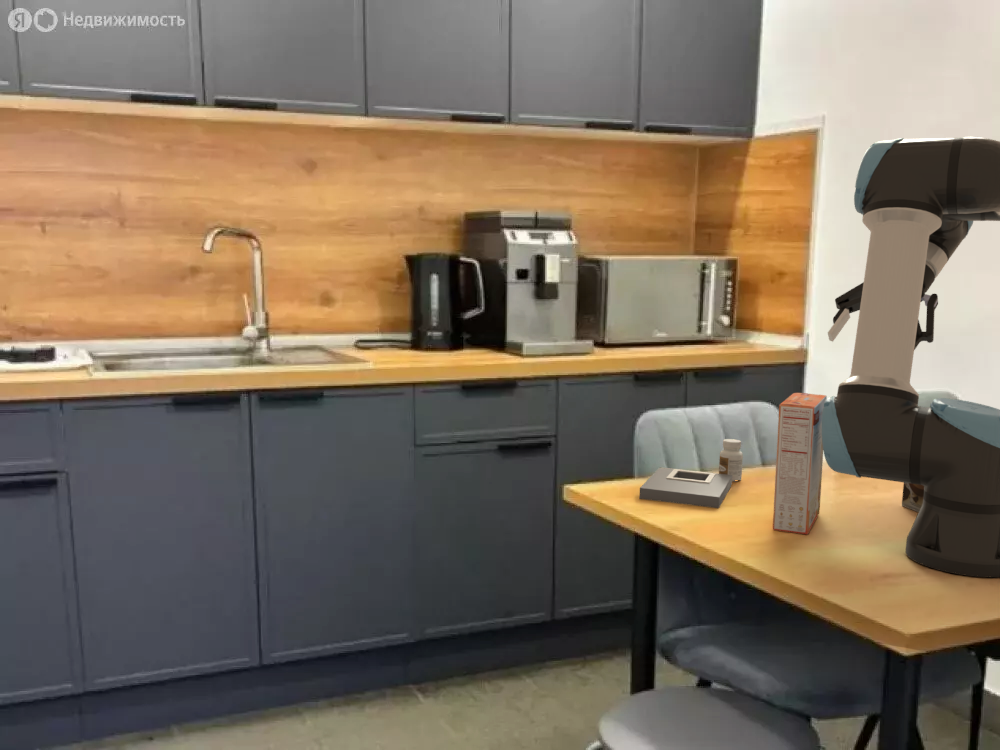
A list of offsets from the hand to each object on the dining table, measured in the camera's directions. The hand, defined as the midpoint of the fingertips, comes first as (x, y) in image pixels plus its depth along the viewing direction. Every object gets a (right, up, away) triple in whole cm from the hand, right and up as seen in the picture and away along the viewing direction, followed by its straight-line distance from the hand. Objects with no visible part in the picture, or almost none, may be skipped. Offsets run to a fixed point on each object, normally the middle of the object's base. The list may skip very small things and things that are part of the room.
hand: (861, 349), depth 184 cm
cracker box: (-21, -30, -27) cm, 46 cm away
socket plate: (-36, -27, -9) cm, 46 cm away
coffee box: (+6, -29, -18) cm, 35 cm away
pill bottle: (-25, -26, +2) cm, 36 cm away
